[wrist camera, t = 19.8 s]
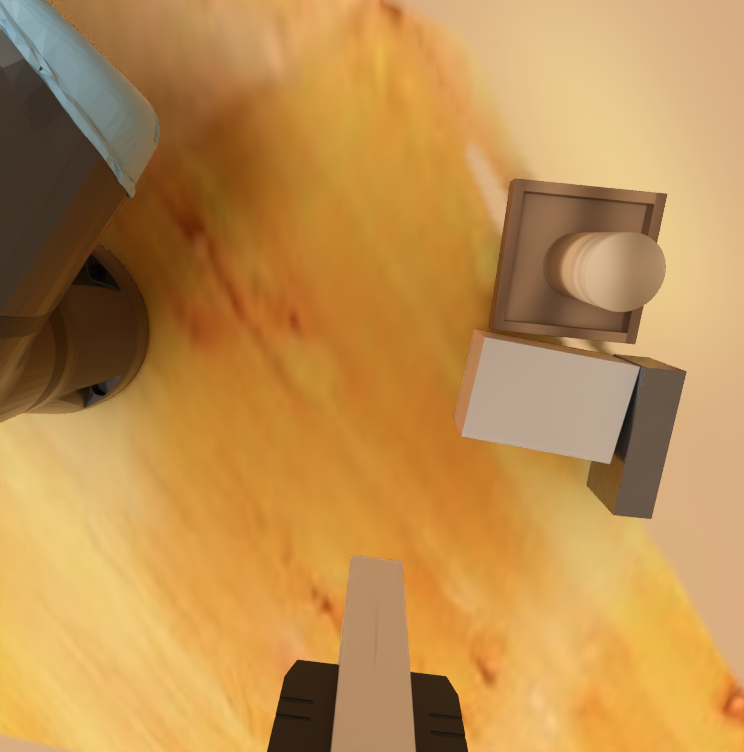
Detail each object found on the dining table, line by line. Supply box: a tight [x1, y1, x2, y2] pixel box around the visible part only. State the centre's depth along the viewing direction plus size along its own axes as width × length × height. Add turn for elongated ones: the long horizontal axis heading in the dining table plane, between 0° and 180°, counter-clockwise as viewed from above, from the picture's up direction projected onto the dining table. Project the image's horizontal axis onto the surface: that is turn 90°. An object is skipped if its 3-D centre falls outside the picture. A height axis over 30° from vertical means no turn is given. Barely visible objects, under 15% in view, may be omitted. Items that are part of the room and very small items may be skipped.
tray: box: [489, 179, 667, 344], centre depth 41 cm, size 12×12×2 cm
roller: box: [543, 232, 666, 312], centre depth 37 cm, size 5×5×9 cm
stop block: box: [587, 354, 686, 519], centre depth 42 cm, size 3×12×6 cm, turn 174°
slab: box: [453, 329, 640, 464], centre depth 42 cm, size 12×8×5 cm, turn 79°
